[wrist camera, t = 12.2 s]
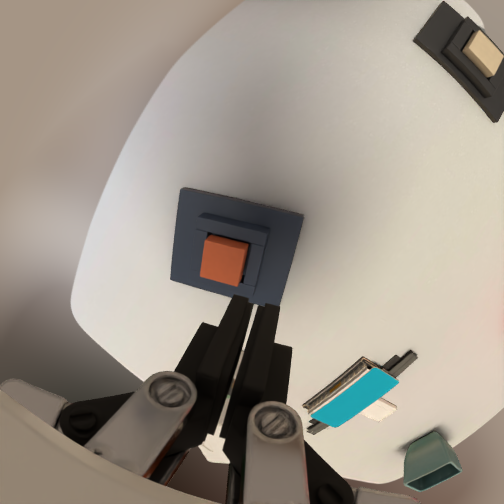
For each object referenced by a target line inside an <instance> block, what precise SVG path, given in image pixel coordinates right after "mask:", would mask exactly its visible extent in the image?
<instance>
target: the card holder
mask: <svg viewBox="0 0 504 504" xmlns="http://www.w3.org/2000/svg"><path fill="white" fill-rule="evenodd" d="M412 353H413V352H412V351H411V350H410V351H409V352H407V353H406V354H405V355H404V356H403V357H402V358H400V357H398V356H397V355H395V356H394V357H393V358H392V359H390V360H389V361H388V362H387V363H386V364H385V365H384V366H382V367H381V368H380V369H379V366H377V365H376V364H374V363H372V362H371V361H369V360H368V359H366V358H365V357H362V358H360V359H359V360H358V361H357V362H356V363H355V364H354V365H352V366H351V367H350V368H349V369H348V370H346V371H345V372H344V373H343V374H342V375H340V376H339V377H338V378H337V379H336V380H334V381H333V382H332V383H331V384H329V385H328V386H327V387H325V388H324V389H323V390H322V391H320V392H319V393H318V394H316V395H315V396H314V397H312V398H311V399H310V400H308V401H307V402H306V403H304V404H303V407H304V408H306V409H308V411H307V412H308V414H309V413H311V412H313V413H312V414H311V417H312V418H314V419H312V420H311V421H309V422H310V423H312V424H314V425H312V426H311V427H309V428H308V431H307V432H308V433H311V432H312V433H311V434H313V435H315V434H316V433H318V432H320V431H321V430H323V429H325V428H326V427H328V426H332V427H339V426H340V425H342V424H343V423H345V422H346V421H348V420H349V419H351V418H352V417H354V416H355V415H357V414H358V413H360V414H362V415H364V416H366V417H369V418H371V419H373V420H375V421H377V422H380V421H382V420H383V419H385V418H386V417H387V416H389V415H390V414H392V413H393V412H395V411H396V410H397V406H395V405H393V404H391V403H389V402H387V401H385V400H384V399H382V398H381V397H382V396H383V395H385V394H386V393H387V392H388V391H390V390H391V389H392V388H394V387H395V386H396V385H397V384H398V383H399V381H398V380H397V379H396V377H397V376H398V375H399V374H400V373H402V372H403V371H404V370H405V369H406V368H407V367H408V366H409V365H410V364H412V363H413V362H414V361H415V360H416V359H417V358H418V357H417V354H415V353H413V354H412Z"/></svg>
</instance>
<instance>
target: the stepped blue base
mask: <svg viewBox="0 0 504 504" xmlns="http://www.w3.org/2000/svg"><path fill="white" fill-rule="evenodd" d="M303 219H304V215H303V214H299V213H295V212H291V211H287V210H283V209H279V208H275V207H271V206H267V205H262V204H258V203H254V202H250V201H245V200H241V199H237V198H232V197H228V196H223V195H219V194H214V193H209V192H205V191H200V190H195V189H190V188H182V189H180V195H179V202H178V210H177V218H176V226H175V235H174V244H173V254H172V265H171V277H170V280H173V281H176V282H179V283H183V284H186V285H189V286H193V287H196V288H200V289H203V290H206V291H210V292H213V293H217V294H221V295H224V296H228V297H231V298H232V297H233V295H234V294H236V295H240V296H243V297H247V298H249V301H248V302H250V303H253V304H257V305H261V306H265V303H269V304H272V305H276V306H279V305H280V302H281V299H282V295H283V292H284V288H285V285H286V281H287V278H288V274H289V271H290V267H291V264H292V260H293V256H294V253H295V249H296V245H297V242H298V238H299V234H300V230H301V227H302V223H303ZM210 235H215V236H219V237H223V238H227V239H231V240H235V241H239V242H243V243H247V244H249V246H248V250H247V255H246V260H245V265H244V269H243V274H242V279H241V281H240V283H239V285H238V287H236V286H233V285H229V284H225V283H222V282H218V281H214V280H211V279H207V278H204V277H200V271H201V264H202V257H203V250H204V243H205V240H206V239H207V238H208V237H209V236H210Z"/></svg>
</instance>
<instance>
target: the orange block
mask: <svg viewBox="0 0 504 504" xmlns="http://www.w3.org/2000/svg"><path fill="white" fill-rule="evenodd" d="M248 246H249V244H247V243H243V242H239V241H235V240H231V239H227V238H223V237H219V236H215V235H210V236H209V237H208V238H207V239H206V240H205V243H204V250H203V257H202V264H201V271H200V277H204V278H207V279H211V280H214V281H218V282H222V283H225V284H229V285H233V286H236V287H238V285H239V283H240V281H241V279H242V274H243V269H244V265H245V260H246V255H247V250H248Z"/></svg>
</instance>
